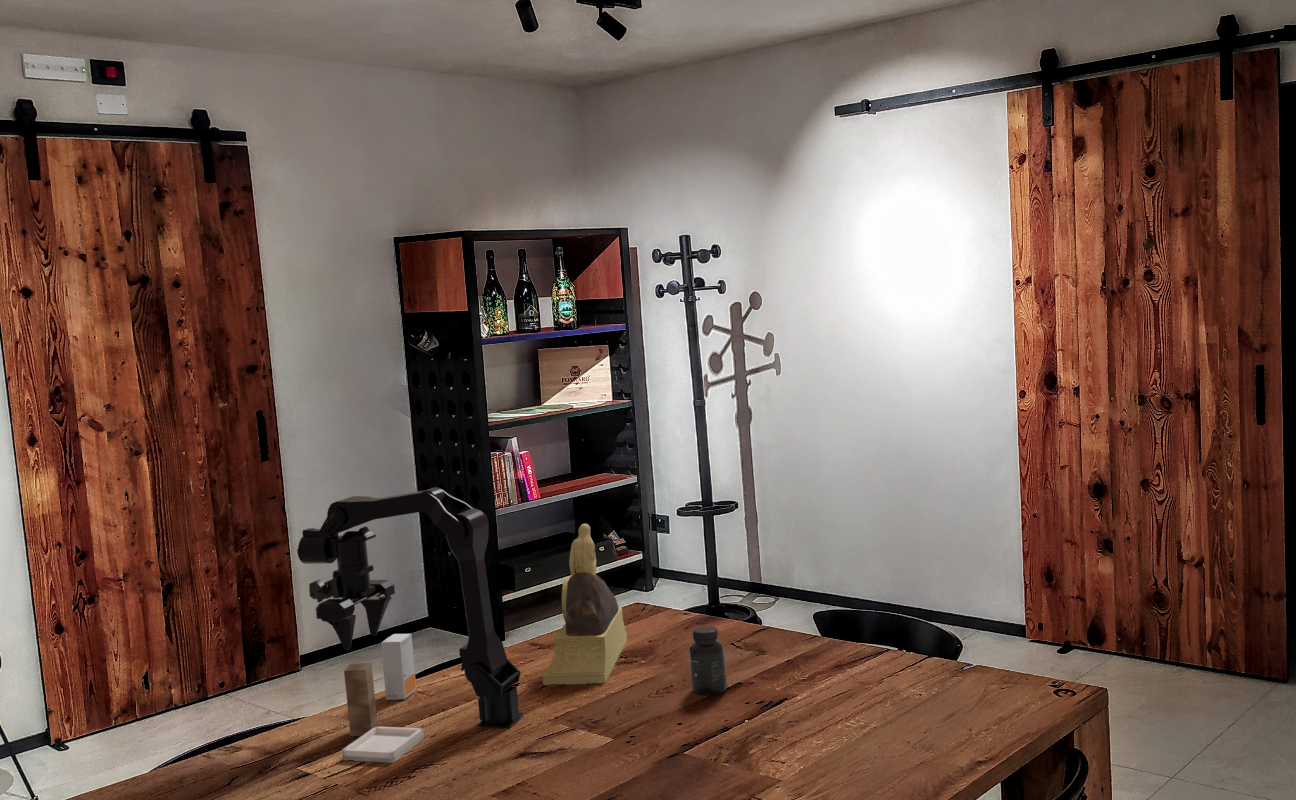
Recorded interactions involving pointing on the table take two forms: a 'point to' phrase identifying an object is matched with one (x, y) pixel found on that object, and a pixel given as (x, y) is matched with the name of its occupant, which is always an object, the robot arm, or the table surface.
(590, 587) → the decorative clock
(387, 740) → the tray
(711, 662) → the supplement bottle
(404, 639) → the skincare box
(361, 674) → the wooden block
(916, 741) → the table surface
